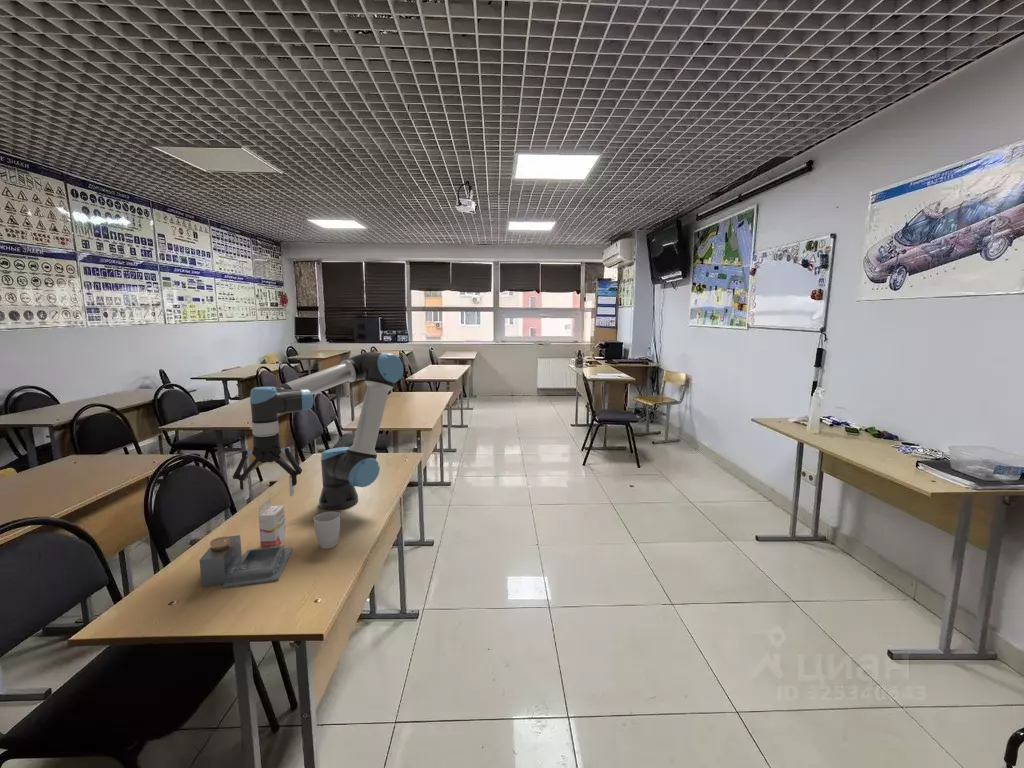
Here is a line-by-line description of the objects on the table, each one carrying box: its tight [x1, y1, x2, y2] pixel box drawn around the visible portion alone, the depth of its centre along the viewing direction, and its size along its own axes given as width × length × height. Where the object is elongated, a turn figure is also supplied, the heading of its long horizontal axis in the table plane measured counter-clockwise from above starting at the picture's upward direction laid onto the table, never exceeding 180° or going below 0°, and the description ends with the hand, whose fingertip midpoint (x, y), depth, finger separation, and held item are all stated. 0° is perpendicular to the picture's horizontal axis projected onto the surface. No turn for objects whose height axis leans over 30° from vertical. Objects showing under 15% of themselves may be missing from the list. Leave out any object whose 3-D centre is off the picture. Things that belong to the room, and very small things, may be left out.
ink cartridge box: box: [258, 497, 287, 548], centre depth 150 cm, size 9×5×15 cm, turn 5°
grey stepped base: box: [199, 534, 293, 589], centre depth 134 cm, size 20×18×10 cm
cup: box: [313, 511, 341, 550], centre depth 149 cm, size 8×8×10 cm
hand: (269, 496), depth 148 cm, fingers open, 13 cm apart
